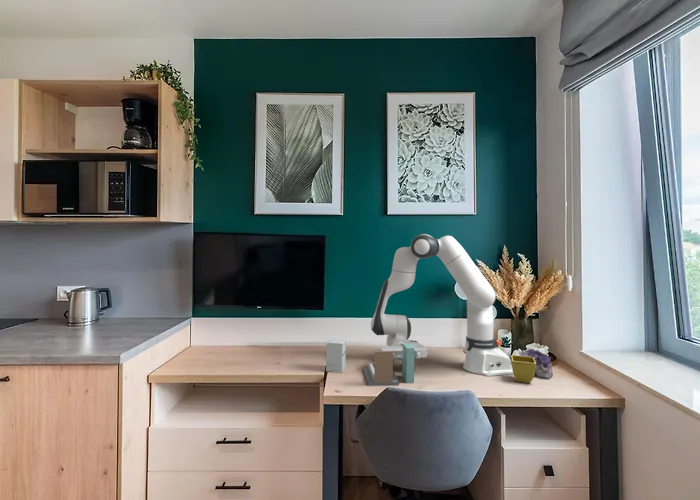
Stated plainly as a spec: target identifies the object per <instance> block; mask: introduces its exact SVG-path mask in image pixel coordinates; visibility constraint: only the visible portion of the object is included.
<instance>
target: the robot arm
mask: <svg viewBox="0 0 700 500" xmlns="http://www.w3.org/2000/svg"><path fill="white" fill-rule="evenodd" d="M433 256H434V257H435V256H437V257H438V258H439V259H440V260H441V262H442V264H443V265H444V266H445V268H446V270H447V271H448V272H449V274H450V275H451V276H452V277H453V279H454V280H455V282H456V283H457V285H458V287H459V288H460V289H461V290H462V292H463V293H464V295H465V296H466V318H467V319H466V320H467V322H466V323H467V324H466V326H467V327H466V337H465V350H466V351H465V357H464V361H463V365H462V369H463V370H465V371H468V372H470V373H474V374H479V375H482V376H486V377H491V376H492V377H493V376H504V375H505V376H506V375H512V374H513V370H512V362H511V357H509V356H508V354H507V353H505V352H504V351H503V350H501V348H499V347H498V346H501V345H502V341H501V340H499V339H496V338H494V313H493V311H494V310H493V304H494V303H495V301H496V291H495V290H494V288H493V286H492V285H491V284H490V283H489V281H488V280H487V278H486V277H485V275H483V273H482V272H481V271H480V269H479V268H478V266H476V264H475V263H474V261H473V260H472V258H471V257H470V255H469V254H468V252H467V251H466V250H465V249H464V247H463V246H462V245H461V244H460V242H458V241H457V240H456V238H454V236H452V235H444V236H442V237H440V238H438V239H437V238H434V237H433V236H431V235H429V234H427V233H422V234H418V235H416V236H415V237H413V239H412V240H411V242H410V246H402V247H399V248H397V249H396V251H395V253H394V256H393V257H394V258H393V262H392V267H391V273H390V276H388V277H389V278H388V279H386V280H384V282H383V283H382V285H381V288H380V292H379V294H378V295H379V297H378V300H377V303H376V307H375V310H374V313H373V317H372V319H371V322H370V330H371V331H372V332H373V334H375V335H376V336H386V345H382V346H380V347H379V348H378V349H377V351H393V360H403V343H410V344H411V345H412V346H413V347H414V359H415V360H419V359H420V358H424V359H425V358H427V356H428V350H427V348H426V346H424V344H421V343H420V341H418V340H411V339H410V337H411V333H412V325H411V321H410V319H409V318H408V317H407V316H406V315H403V314H402V315H401V314H387V313H385V311H386V307H387V305H388V300H389V298H390V297H391V296H392V295H393V294H396V293H400V292H403V291H406V290H408V289H409V288H411V287H412V285H413V284H414V282H415V280H416V273H417V272H416V271H417V264H418V261H419V260H420V259H428V258H430V257H433ZM513 375H514V374H513Z"/></svg>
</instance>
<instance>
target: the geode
mask: <svg viewBox="0 0 700 500" xmlns="http://www.w3.org/2000/svg"><path fill="white" fill-rule="evenodd" d="M518 356H526V357H533V358H534V360H535V362H536V368H535V374H534V375H535V376H536V378H537V379H542V380H550V379H551V378H553V373H554V372H553V366H552V365H553V364H552V362H551V359H552V357H549V355H548V354H545V353H542V351H539V350H538V349H537V350H535V349H534V348H529V349H528V350H526V349H525V350H524V349H523V350H521V352H520V354H519V355H518Z"/></svg>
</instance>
